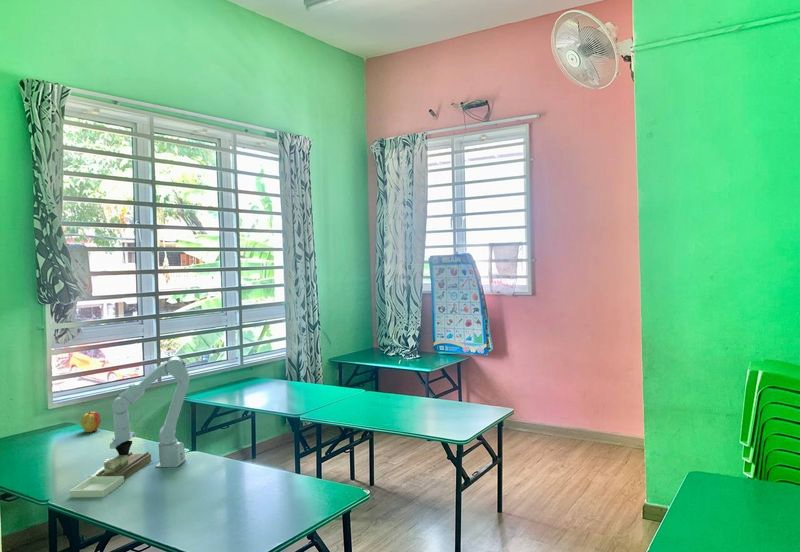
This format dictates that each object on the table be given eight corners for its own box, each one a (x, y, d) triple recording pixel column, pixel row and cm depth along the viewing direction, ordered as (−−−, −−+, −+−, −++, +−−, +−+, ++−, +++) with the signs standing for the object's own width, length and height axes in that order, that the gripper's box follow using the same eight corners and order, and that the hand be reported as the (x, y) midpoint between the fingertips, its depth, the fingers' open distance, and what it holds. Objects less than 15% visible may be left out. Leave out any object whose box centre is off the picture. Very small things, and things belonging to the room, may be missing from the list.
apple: (101, 431, 286) (100, 412, 286) (81, 435, 282) (79, 415, 281) (101, 427, 294) (99, 408, 294) (81, 430, 290) (79, 411, 289)
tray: (124, 482, 219) (123, 475, 218) (103, 497, 206) (103, 490, 206) (92, 482, 220) (91, 476, 220) (69, 497, 207) (69, 490, 207)
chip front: (120, 468, 225) (119, 458, 225) (114, 472, 221) (113, 462, 221) (110, 468, 225) (110, 458, 225) (104, 472, 221) (103, 462, 221)
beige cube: (128, 464, 229) (127, 455, 229) (122, 468, 225) (121, 458, 225) (118, 464, 229) (118, 455, 229) (112, 468, 225) (112, 458, 225)
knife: (109, 453, 252) (127, 451, 252) (109, 456, 252) (127, 455, 252) (74, 477, 222) (95, 475, 223) (75, 481, 222) (95, 480, 223)
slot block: (151, 460, 241) (150, 451, 241) (121, 481, 219) (120, 472, 219) (128, 460, 242) (128, 452, 242) (96, 482, 220) (96, 472, 220)
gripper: (122, 421, 237) (125, 453, 238) (101, 433, 223) (103, 467, 224) (139, 421, 237) (141, 453, 237) (118, 432, 222) (121, 466, 223)
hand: (124, 460), depth 230 cm, fingers closed
